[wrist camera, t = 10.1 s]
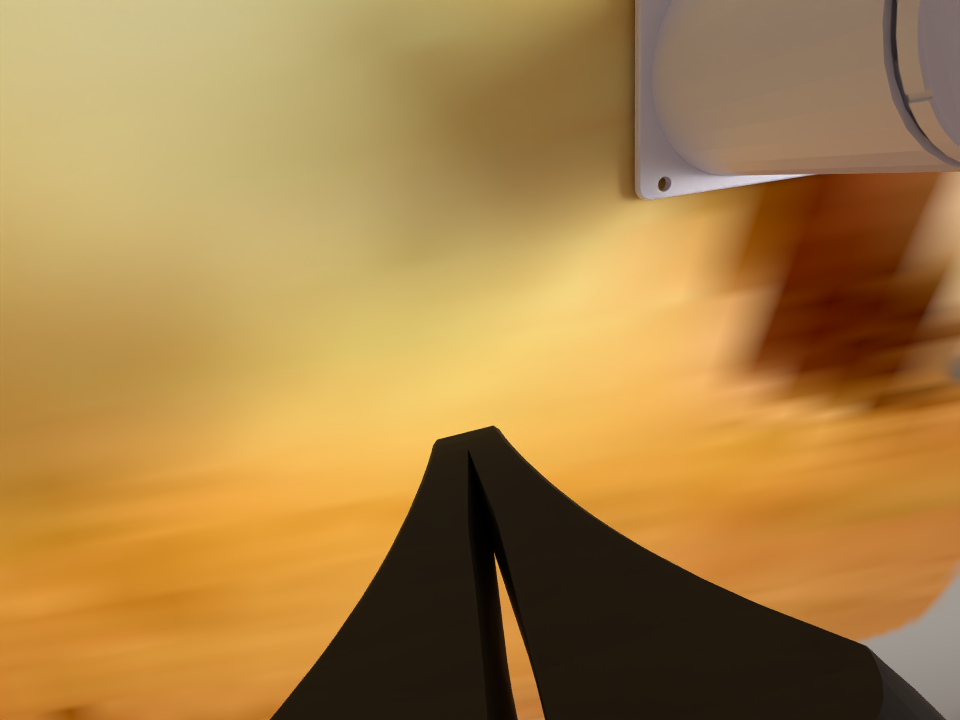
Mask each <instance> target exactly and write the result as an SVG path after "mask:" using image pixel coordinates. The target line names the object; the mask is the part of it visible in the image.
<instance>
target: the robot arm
mask: <svg viewBox="0 0 960 720" xmlns="http://www.w3.org/2000/svg"><path fill="white" fill-rule="evenodd" d="M955 171H960V0H635V192H636V194H637V196H638V197H639V198H641V199H642V200H655V199H661V198H668V197H674V196H681V195H687V194H693V193H700V192H706V191H712V190H719V189H725V188H732V187H738V186H744V185H751V184H757V183H764V182H770V181H776V180H783V179H789V178H796V177H802V176H808V175H815V174H850V173H902V172H955ZM662 177H663V178H664V179H665V181H666V185H665V187H664V189H663V190H661V191H660V190H659V188H658V182H659V180H660V179H661V178H662ZM494 553H495V556H496V559H497V562H498V565H499V569H500V572H501V575H502V578H503V581H504V584H505V587H506V590H507V593H508V596H509V599H510V602H511V605H512V608H513V611H514V614H515V617H516V620H517V623H518V626H519V629H520V632H521V635H522V638H523V641H524V644H525V647H526V650H527V653H528V656H529V660H530V663H531V667H532V670H533V674H534V677H535V681H536V684H537V688H538V692H539V696H540V700H541V704H542V709H543V713H544V717H545V720H946V719H945V718H944V717H943V716H942V715H941V714H940V713H939V712H938V711H937V710H936V709H935V708H934V707H933V706H932V705H931V704H930V703H929V702H928V701H926V700H925V699H924V697H922V696H921V695H920V694H919V693H918V692H917V691H916V690H915V689H914V688H913V687H912V686H911V685H910V684H908V683H907V682H906V681H905V680H904V679H903V678H902V677H900V676H899V675H898V674H897V673H895V672H894V671H893V670H892V669H891V668H890V667H889V666H888V665H886V664H885V663H884V662H883V661H882V660H881V659H880V658H879V657H878V656H877V655H876V654H875V653H874V652H872V651H871V650H870V649H869V648H868V647H867V646H865V645H862V644H860V643H857V642H855V641H852V640H850V639H847V638H844V637H842V636H839V635H837V634H834V633H831V632H829V631H826V630H824V629H821V628H819V627H816V626H813V625H811V624H808V623H806V622H803V621H801V620H798V619H795V618H793V617H790V616H788V615H785V614H783V613H780V612H777V611H775V610H772V609H770V608H767V607H765V606H762V605H760V604H757V603H755V602H753V601H750V600H748V599H746V598H744V597H741V596H739V595H737V594H735V593H733V592H730V591H728V590H726V589H724V588H722V587H719V586H717V585H715V584H713V583H711V582H708V581H706V580H704V579H702V578H700V577H698V576H696V575H694V574H692V573H691V572H689V571H687V570H685V569H683V568H681V567H679V566H677V565H675V564H673V563H671V562H670V561H668V560H666V559H664V558H662V557H660V556H658V555H656V554H654V553H652V552H650V551H649V550H647V549H645V548H643V547H642V546H640V545H638V544H637V543H635V542H633V541H632V540H630V539H629V538H627V537H625V536H624V535H622V534H620V533H619V532H617V531H615V530H614V529H612V528H611V527H609V526H608V525H606V524H605V523H603V522H602V521H600V520H599V519H597V518H596V517H594V516H593V515H592V514H590V513H589V512H587V511H586V510H585V509H583V508H582V507H581V506H579V505H578V504H576V503H575V502H574V501H573V500H571V499H570V498H569V497H567V496H566V495H565V494H564V493H562V492H561V491H560V490H559V489H557V488H556V487H555V486H554V485H553V484H552V483H550V482H549V481H548V480H547V479H546V478H545V477H544V476H542V475H541V474H540V473H539V472H538V471H537V470H536V469H535V468H534V467H533V466H532V465H530V464H529V463H528V462H527V461H526V460H525V459H524V458H523V457H522V456H521V455H520V454H519V453H518V452H517V450H516V449H515V448H514V447H513V446H512V445H511V444H510V443H509V442H508V440H507V439H506V438H505V437H504V435H503V434H502V433H501V431H500V430H499V429H498V428H496V427H495V426H490V427H486V428H482V429H478V430H474V431H470V432H466V433H462V434H458V435H454V436H450V437H446V438H442V439H438V440H437V441H436V442H435V444H434V445H433V448H432V452H431V456H430V459H429V462H428V465H427V468H426V471H425V474H424V476H423V479H422V482H421V484H420V487H419V489H418V491H417V494H416V496H415V499H414V501H413V503H412V506H411V508H410V510H409V513H408V515H407V517H406V519H405V521H404V523H403V525H402V527H401V529H400V531H399V533H398V535H397V537H396V539H395V541H394V543H393V545H392V547H391V549H390V551H389V552H388V554H387V556H386V558H385V560H384V561H383V563H382V565H381V567H380V568H379V570H378V572H377V573H376V575H375V577H374V578H373V580H372V582H371V583H370V585H369V586H368V588H367V590H366V591H365V593H364V595H363V596H362V598H361V599H360V601H359V602H358V604H357V605H356V607H355V608H354V610H353V611H352V613H351V614H350V615H349V617H348V618H347V620H346V621H345V623H344V624H343V626H342V627H341V629H340V630H339V632H338V633H337V635H336V636H335V637H334V639H333V640H332V641H331V643H330V644H329V646H328V647H327V648H326V650H325V651H324V652H323V654H322V655H321V656H320V658H319V659H318V660H317V662H316V663H315V664H314V666H313V667H312V668H311V669H310V671H309V672H308V673H307V674H306V676H305V677H304V678H303V679H302V681H301V682H300V683H299V684H298V686H297V687H296V688H295V689H294V691H293V692H292V693H291V694H290V696H289V697H288V698H287V699H286V701H285V702H284V703H283V704H282V706H281V707H280V708H279V709H278V711H277V712H276V713H275V714H274V715H273V717H272V718H271V719H270V720H518V719H517V714H516V709H515V704H514V699H513V694H512V689H511V682H510V676H509V670H508V663H507V655H506V647H505V639H504V631H503V622H502V614H501V606H500V598H499V589H498V581H497V573H496V565H495V557H494Z"/></svg>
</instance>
